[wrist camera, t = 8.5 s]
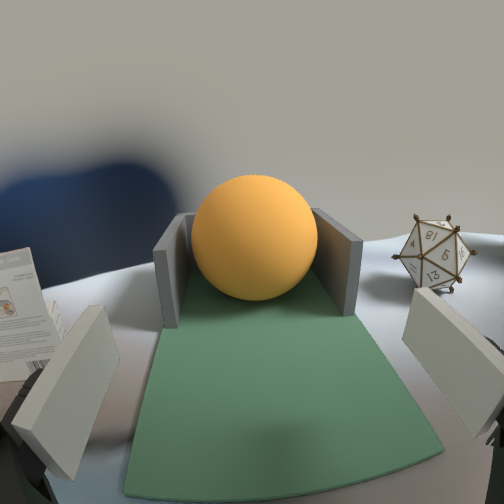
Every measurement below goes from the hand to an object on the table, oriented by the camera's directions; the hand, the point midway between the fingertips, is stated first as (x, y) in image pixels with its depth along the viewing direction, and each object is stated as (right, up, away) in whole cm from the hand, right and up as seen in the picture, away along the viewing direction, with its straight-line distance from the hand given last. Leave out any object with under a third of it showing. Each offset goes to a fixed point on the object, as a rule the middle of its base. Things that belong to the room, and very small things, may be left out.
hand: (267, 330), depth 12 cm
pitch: (0, -3, +11) cm, 12 cm away
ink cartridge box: (-19, -7, +5) cm, 20 cm away
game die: (+18, -1, +17) cm, 25 cm away
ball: (0, +4, +15) cm, 16 cm away
